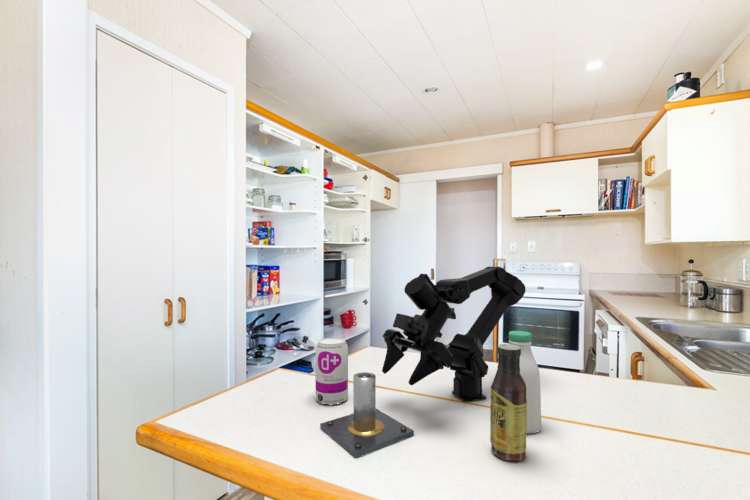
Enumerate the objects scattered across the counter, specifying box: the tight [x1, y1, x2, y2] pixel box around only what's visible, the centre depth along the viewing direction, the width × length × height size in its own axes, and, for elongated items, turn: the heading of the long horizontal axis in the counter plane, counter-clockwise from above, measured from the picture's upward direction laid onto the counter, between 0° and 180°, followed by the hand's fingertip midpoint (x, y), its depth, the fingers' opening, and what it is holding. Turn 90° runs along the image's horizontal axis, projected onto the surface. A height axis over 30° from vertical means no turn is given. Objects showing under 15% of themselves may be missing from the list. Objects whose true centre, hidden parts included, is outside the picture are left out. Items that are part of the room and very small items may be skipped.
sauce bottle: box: [489, 343, 527, 462], centre depth 66 cm, size 6×6×20 cm
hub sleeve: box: [352, 371, 377, 432], centre depth 74 cm, size 5×5×11 cm
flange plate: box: [319, 408, 415, 459], centre depth 74 cm, size 14×14×1 cm
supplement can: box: [315, 337, 349, 405], centre depth 91 cm, size 8×8×15 cm
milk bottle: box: [508, 330, 542, 434], centre depth 76 cm, size 8×8×20 cm
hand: (396, 378), depth 79 cm, fingers open, 9 cm apart
